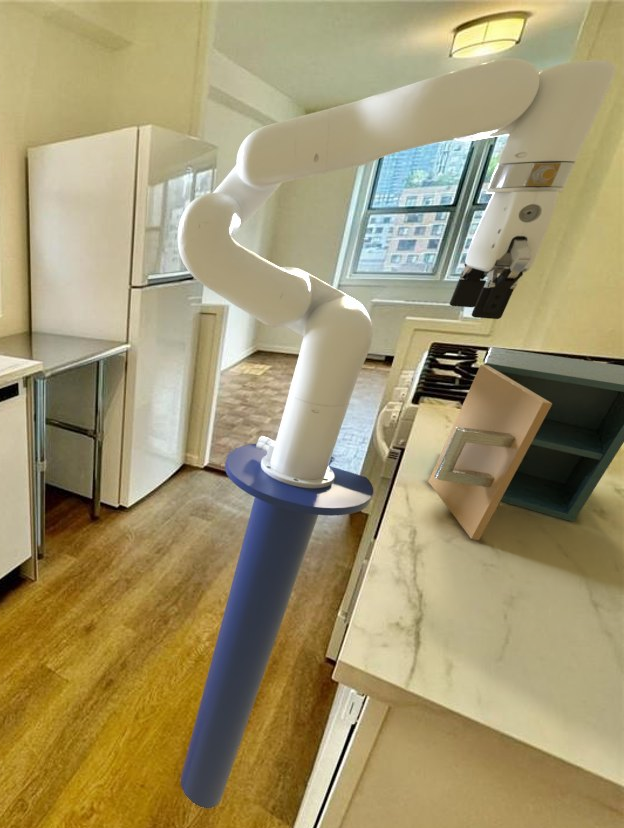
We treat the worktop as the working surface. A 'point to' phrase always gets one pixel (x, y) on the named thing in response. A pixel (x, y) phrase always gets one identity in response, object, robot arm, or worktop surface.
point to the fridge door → (486, 447)
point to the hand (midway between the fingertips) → (472, 311)
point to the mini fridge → (565, 429)
